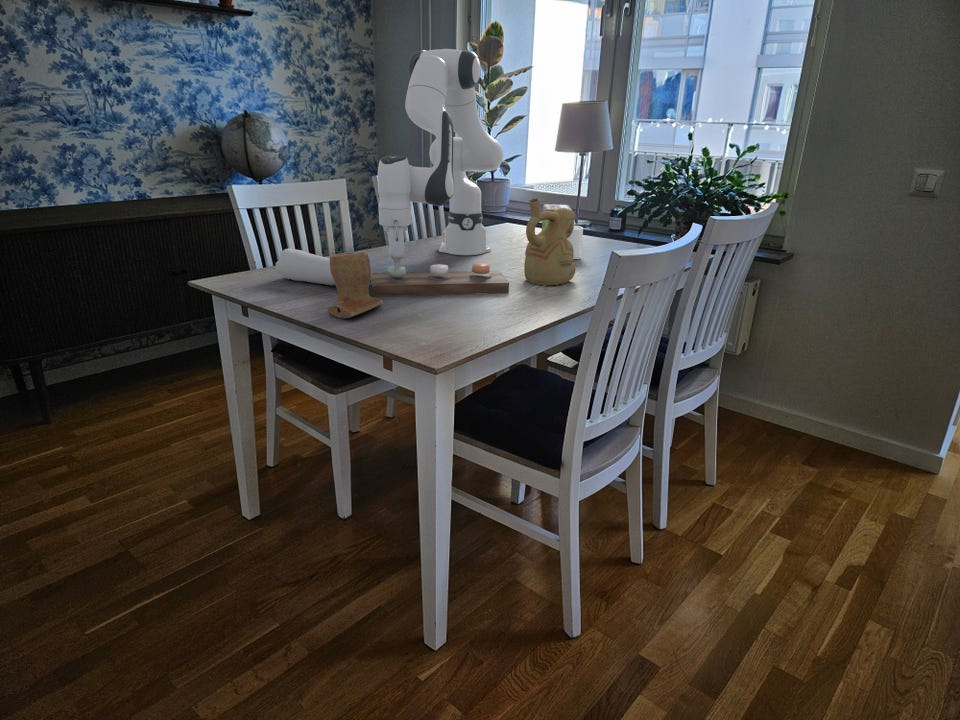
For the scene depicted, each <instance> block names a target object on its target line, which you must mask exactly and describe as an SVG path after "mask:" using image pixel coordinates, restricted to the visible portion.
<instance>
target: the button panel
mask: <svg viewBox="0 0 960 720" xmlns="http://www.w3.org/2000/svg"><path fill="white" fill-rule="evenodd" d="M371 275H372V281H371V292H372V293H371V294H372V296H371V297H395V296H396V297H398V296H399V297H400V296H440V295H441V294H442V295H443V296H444V294H446V295H475V294H476V293H487V294H509V293H510V282H509V281H508V279H507V278H506V276H505V275H504V274H503V272H502V271H501V270H489V273H487V274H476V273H473V272H472V270H465V271H463V270H460V271H459V270H457V271H454V270H453V271H448V274H446V275H432V274H431V271H414V272H411V271H410V272H409V271H408V272H407V271H406V275H405V276H403V277H391V276H388V272H372V273H371ZM476 295H477V294H476Z"/></svg>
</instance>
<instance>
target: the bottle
mask: <svg viewBox="0 0 960 720" xmlns="http://www.w3.org/2000/svg"><path fill="white" fill-rule="evenodd" d="M278 256H279V260H278V261H276V262H275V270H276V272H278V274H279V276H282V277H284V278H285V279H287V280H290V279H291V280H292V281H295V282H305V281H306V282H308V283H313V284H320V285H325V286H336V285H335V282H334V279H333V277H332V274H331V271H330V257H325V256H321V255H318V254H313V253H310V252H307V251H304V250H301V249H294V248H285V249H283V250H282V251H281V252H279V253H278ZM370 285H372V274H371V277H370V282H369V286H370Z"/></svg>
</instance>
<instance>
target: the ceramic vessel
mask: <svg viewBox="0 0 960 720" xmlns="http://www.w3.org/2000/svg"><path fill="white" fill-rule="evenodd" d="M540 202H541V200H540V199H539V198H532V199H529V200H528V204H529V209H530V218H529V220H528V221H527V224H526V227H525V228H526V229H525V236H526V239H527V241H528V243H527V245H526V247H525V252H524V255H525V256H524V257H525V258H524V265H523V267H524V268H523V269H524V272H523V273H524V277H525V279H526V281H528V283H531V284H532V283H533V285H536V284H538V285H537V286H542V285H556V286H560V285H559V284H562V285H565V284H567V283H569V280H570V281H571V280H572V279H573V278H574V276H575V274H576V270H577V269H576V266H575V264H574V263H573V261H574V260H573V255H574V251H573V246H572V244H571V243H570V242H569V241H568V239H567V238H568V237H570V235H571V234H572V232H573V229H574V226H575V220H576V214H575V212H573V210H572V211H571V210H569V209H567V208H559V209H557V210H555V211H554V212H551V211H544V212H543V211H541V203H540ZM546 219H547V220H548V222H547V225H546V227H545V228H544V229H543V230H542V229H541V231H540V232H538V233H537V234H536V226H537V225H538V223H540V222H542V220H546ZM564 283H565V284H564Z"/></svg>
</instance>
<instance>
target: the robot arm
mask: <svg viewBox="0 0 960 720" xmlns="http://www.w3.org/2000/svg"><path fill="white" fill-rule="evenodd" d="M479 58H480V57H478V55H477V54H476V53H475V52H474V51H473V50H468V49H463V50H461V49H460V50H459V49H453V48H442V49H430V50H425V49H421V50H417V51H415V52H413V53H412V55H411V56H410V57H409V59H408V63H407V72H408V73H407V74H408V78H409V81H408V82H409V83H408V87H407V91H406V96H405V106H404V107H405V111H406V114H407V116H408V118H409V119H410V120H411V122H413V124H415V125H416V126H418V128H420V129H422V130H424V131H427V132H428V133H431V134H432V135H433V136H435V139H434V141H432V143H431V145H430V147H429V154H428V155H429V159H430V162H431V163H432V165H433V166H431V167H425V166H424V167H423V166H413V165H411V164H410V163H409V159H408V157H407V156H405V155H403V154H389V155H385V156H382V157H381V158H380V159H379V162H378V168H377V192H378V196H379V201H378V221H379V222H378V223H379V225H380V226H382V227H383V230H384V232H386V233H387V234H386V235H387V240H388V247H389V254H390V255H389V256H390V258H391V259H393V260H392V262H393V265H392V266H394V268H395V269H399V268H400V266H401V259H402V260H403V259H404V258H405V233H404V232H406V231H407V230H408V226H411V225H412V223H413V221H412V219H413V218H412V203H415V204H416V203H418V204H428V205H432V206H438V207H442V206H444V205H446V203H448V202H449V211H448V215H447V216H448V225H447V226H445V228H444V230H443V231H442V232H441V238H443V239H442V240H443V241H442V242H441V244H440V247H439V248H438V252H439V253H445V254H450V255H454V256H455V255H457V256H475V255H482V254H484V253H489V252H491V250H492V249H491V247H489V246H488V245H487V229H486V227H485V226H484V225H483V224H482V223H483V212H482V190H481V188H480V187H479V186H478V185H477V184H476V183H475V182H472V181H471V180H469V178H468V176H467V172H477V173H478V172H479V173H484V172H485V173H487V172H491V171H492V172H493V171H497V170H498V169H499V167H501V165H502V162H503V159H504V150H503V146H502V145H501V143H500V142H499V141H498V140H496V139H494V138H493V137H492V136H491V135H490V134H489V133H488V131H487V130H486V129H485V127H484V126H483V124H482V122H481V120H480V116H479V111H478V110H479V109H478V103H477V97H476V88H475V87H476V85H478V83H479V81H480V78H481V73H482V72H481V61H480V59H479ZM454 134H457V135H458V136H454Z"/></svg>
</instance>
